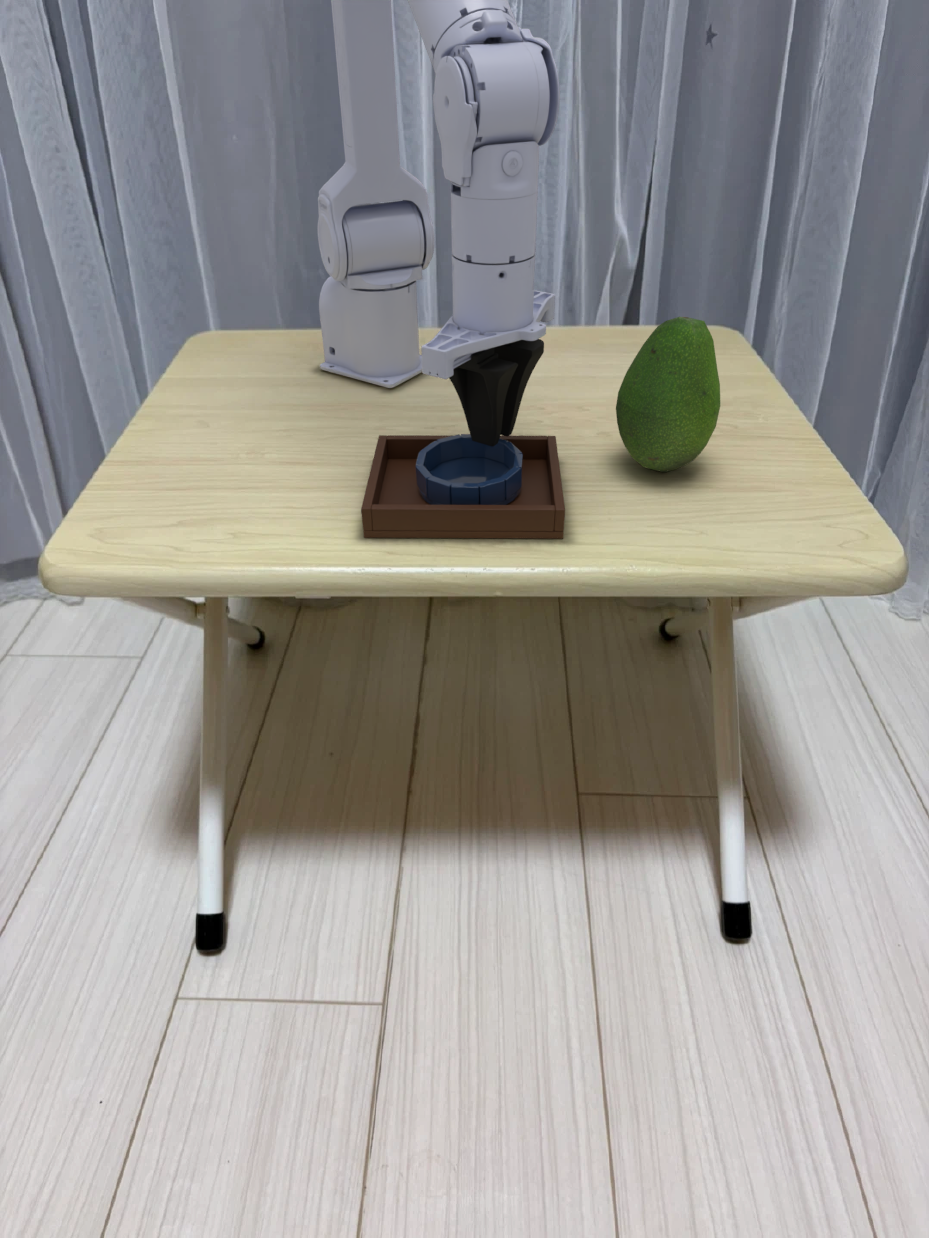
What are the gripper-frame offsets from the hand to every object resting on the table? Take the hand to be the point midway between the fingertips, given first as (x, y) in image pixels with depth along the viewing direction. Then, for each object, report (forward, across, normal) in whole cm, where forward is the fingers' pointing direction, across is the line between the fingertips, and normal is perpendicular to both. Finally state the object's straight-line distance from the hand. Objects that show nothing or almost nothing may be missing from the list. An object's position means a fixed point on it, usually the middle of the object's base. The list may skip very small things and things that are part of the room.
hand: (491, 437), depth 67 cm
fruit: (+4, +10, -10) cm, 14 cm away
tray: (+4, -4, 0) cm, 5 cm away
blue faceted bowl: (+3, -3, 0) cm, 4 cm away
